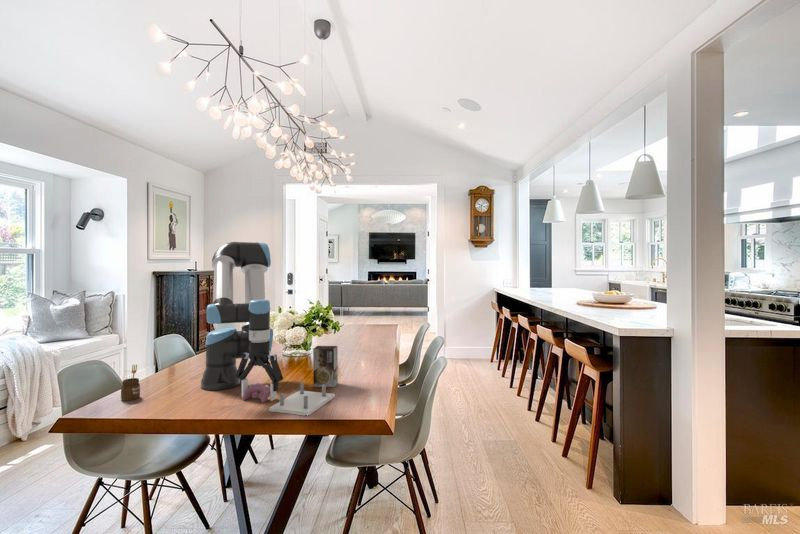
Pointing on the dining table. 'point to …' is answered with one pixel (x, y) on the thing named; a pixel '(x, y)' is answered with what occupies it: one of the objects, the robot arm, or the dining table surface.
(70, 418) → the dining table surface
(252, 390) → the video game controller
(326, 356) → the coffee box
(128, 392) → the utensil holder
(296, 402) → the pin tray
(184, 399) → the dining table surface
